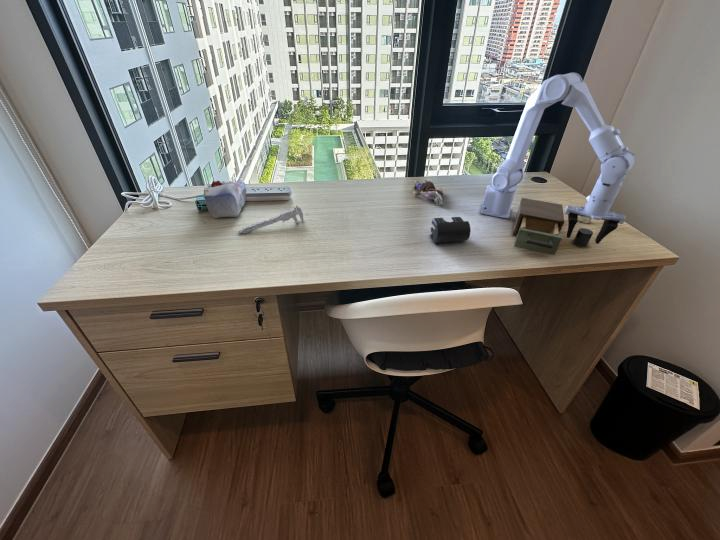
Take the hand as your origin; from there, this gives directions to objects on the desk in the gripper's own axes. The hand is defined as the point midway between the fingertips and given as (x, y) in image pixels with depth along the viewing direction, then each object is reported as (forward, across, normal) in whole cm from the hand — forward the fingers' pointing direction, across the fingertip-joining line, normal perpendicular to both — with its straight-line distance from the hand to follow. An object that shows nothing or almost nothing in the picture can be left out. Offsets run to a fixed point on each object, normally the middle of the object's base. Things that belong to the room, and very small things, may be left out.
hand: (582, 239), depth 99 cm
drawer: (+1, -13, -9) cm, 16 cm away
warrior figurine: (+2, -50, +14) cm, 52 cm away
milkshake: (+2, +3, +18) cm, 18 cm away
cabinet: (+2, -13, +3) cm, 13 cm away
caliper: (+2, -90, -32) cm, 95 cm away
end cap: (+2, -37, -16) cm, 40 cm away
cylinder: (+2, 0, 0) cm, 2 cm away
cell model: (+2, -112, -26) cm, 115 cm away
